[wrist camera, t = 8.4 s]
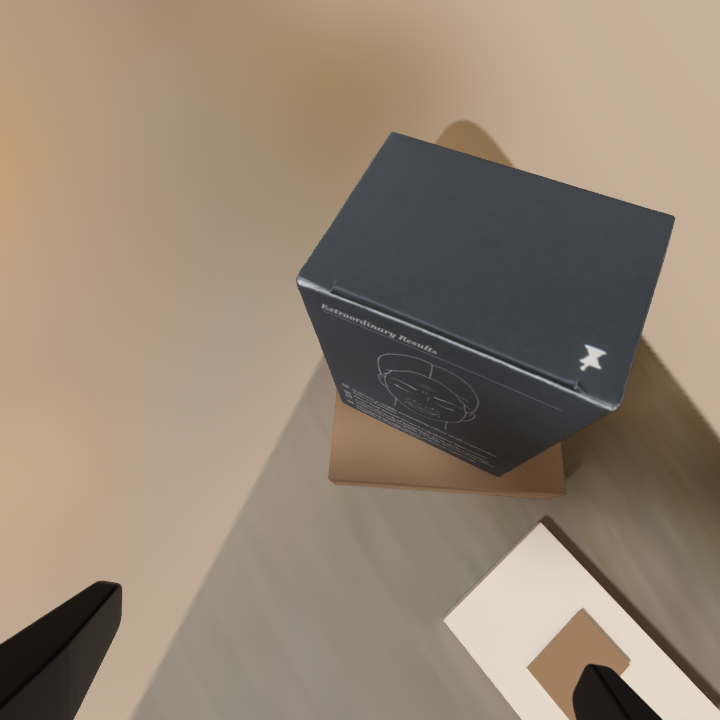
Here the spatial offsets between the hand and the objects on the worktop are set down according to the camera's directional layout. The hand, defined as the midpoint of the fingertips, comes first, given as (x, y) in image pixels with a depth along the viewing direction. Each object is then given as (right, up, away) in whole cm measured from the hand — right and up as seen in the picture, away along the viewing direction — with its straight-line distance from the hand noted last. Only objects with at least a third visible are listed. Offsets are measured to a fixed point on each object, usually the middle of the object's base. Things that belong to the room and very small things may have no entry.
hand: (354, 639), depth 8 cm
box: (+4, +4, +12) cm, 13 cm away
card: (+9, -7, +10) cm, 15 cm away
